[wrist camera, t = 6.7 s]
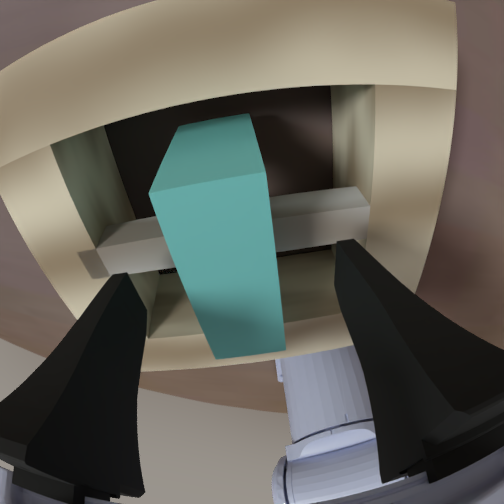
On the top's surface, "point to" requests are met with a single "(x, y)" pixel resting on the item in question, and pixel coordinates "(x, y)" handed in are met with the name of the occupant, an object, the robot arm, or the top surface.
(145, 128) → the top surface
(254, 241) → the teal block
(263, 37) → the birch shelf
